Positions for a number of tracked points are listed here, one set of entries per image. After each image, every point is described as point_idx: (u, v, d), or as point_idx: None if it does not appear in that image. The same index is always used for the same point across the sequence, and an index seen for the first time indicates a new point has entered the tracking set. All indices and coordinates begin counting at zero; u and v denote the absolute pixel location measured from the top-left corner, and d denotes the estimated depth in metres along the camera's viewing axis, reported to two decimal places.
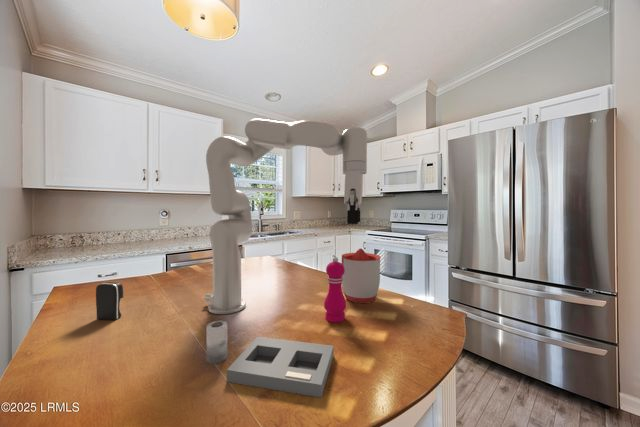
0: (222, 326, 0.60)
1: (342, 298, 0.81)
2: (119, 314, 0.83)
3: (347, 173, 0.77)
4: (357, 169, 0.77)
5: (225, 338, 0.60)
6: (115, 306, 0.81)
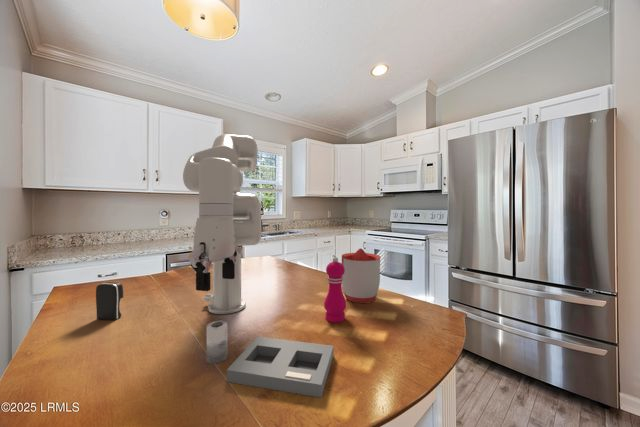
0: (222, 326, 0.60)
1: (342, 298, 0.81)
2: (119, 314, 0.83)
3: (197, 220, 0.56)
4: (211, 215, 0.57)
5: (225, 338, 0.60)
6: (115, 306, 0.81)
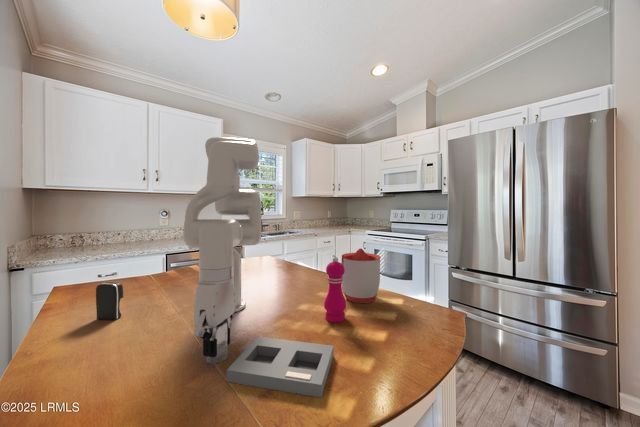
0: (222, 326, 0.60)
1: (342, 298, 0.81)
2: (119, 314, 0.83)
3: (198, 287, 0.57)
4: (211, 281, 0.57)
5: (225, 338, 0.60)
6: (115, 306, 0.81)
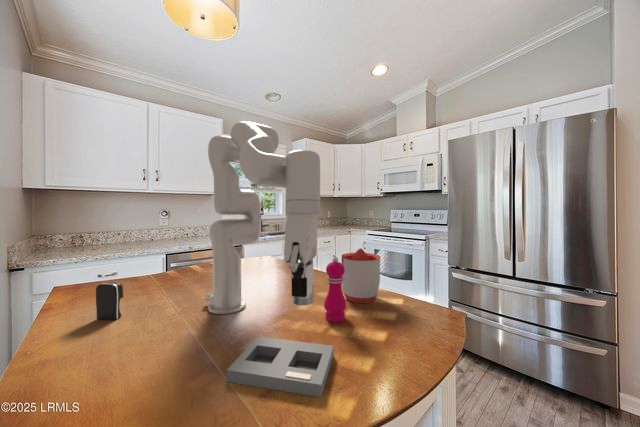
0: (310, 265, 0.55)
1: (342, 298, 0.81)
2: (119, 314, 0.83)
3: (288, 218, 0.52)
4: (303, 212, 0.52)
5: (312, 279, 0.55)
6: (115, 306, 0.81)
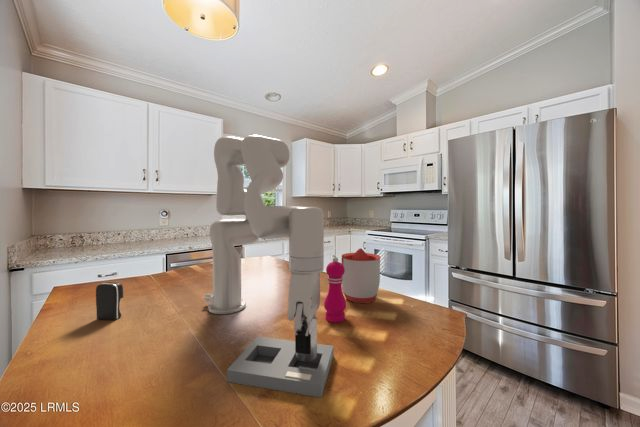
0: (313, 320, 0.55)
1: (342, 298, 0.81)
2: (119, 314, 0.83)
3: (292, 277, 0.52)
4: (307, 270, 0.52)
5: (316, 333, 0.56)
6: (115, 306, 0.81)
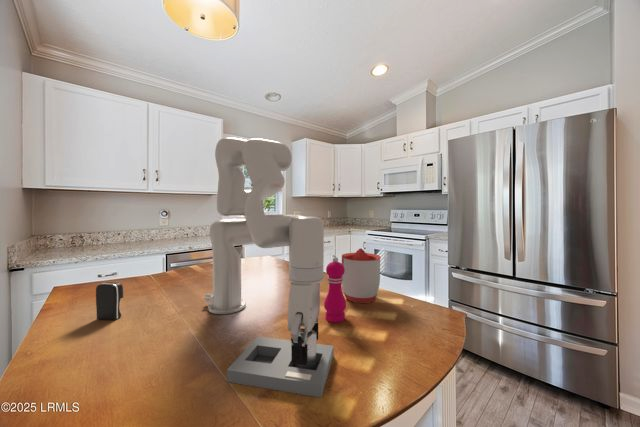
0: (313, 335, 0.55)
1: (342, 298, 0.81)
2: (119, 314, 0.83)
3: (292, 287, 0.52)
4: (307, 281, 0.52)
5: (315, 348, 0.56)
6: (115, 306, 0.81)
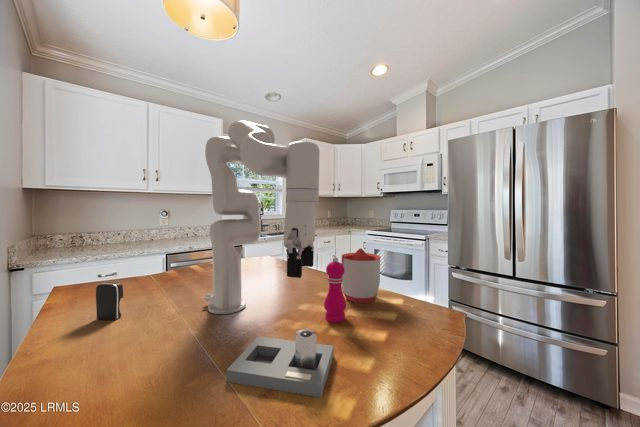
0: (313, 336, 0.55)
1: (342, 298, 0.81)
2: (119, 314, 0.83)
3: (288, 206, 0.55)
4: (302, 200, 0.55)
5: (315, 348, 0.56)
6: (115, 306, 0.81)
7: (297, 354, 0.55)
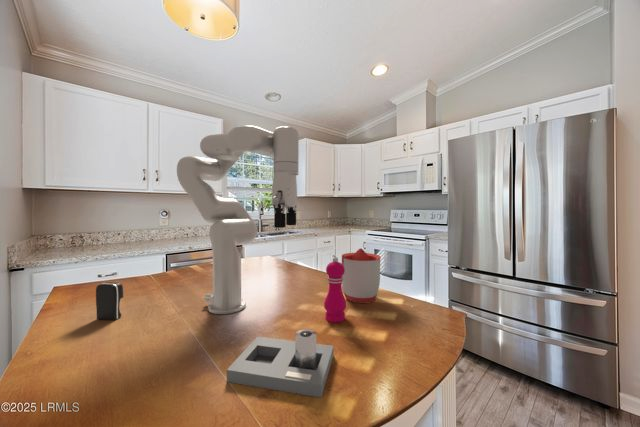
0: (313, 335, 0.55)
1: (342, 298, 0.81)
2: (119, 314, 0.83)
3: (275, 174, 0.74)
4: (285, 170, 0.74)
5: (315, 348, 0.56)
6: (115, 306, 0.81)
7: (297, 354, 0.55)
